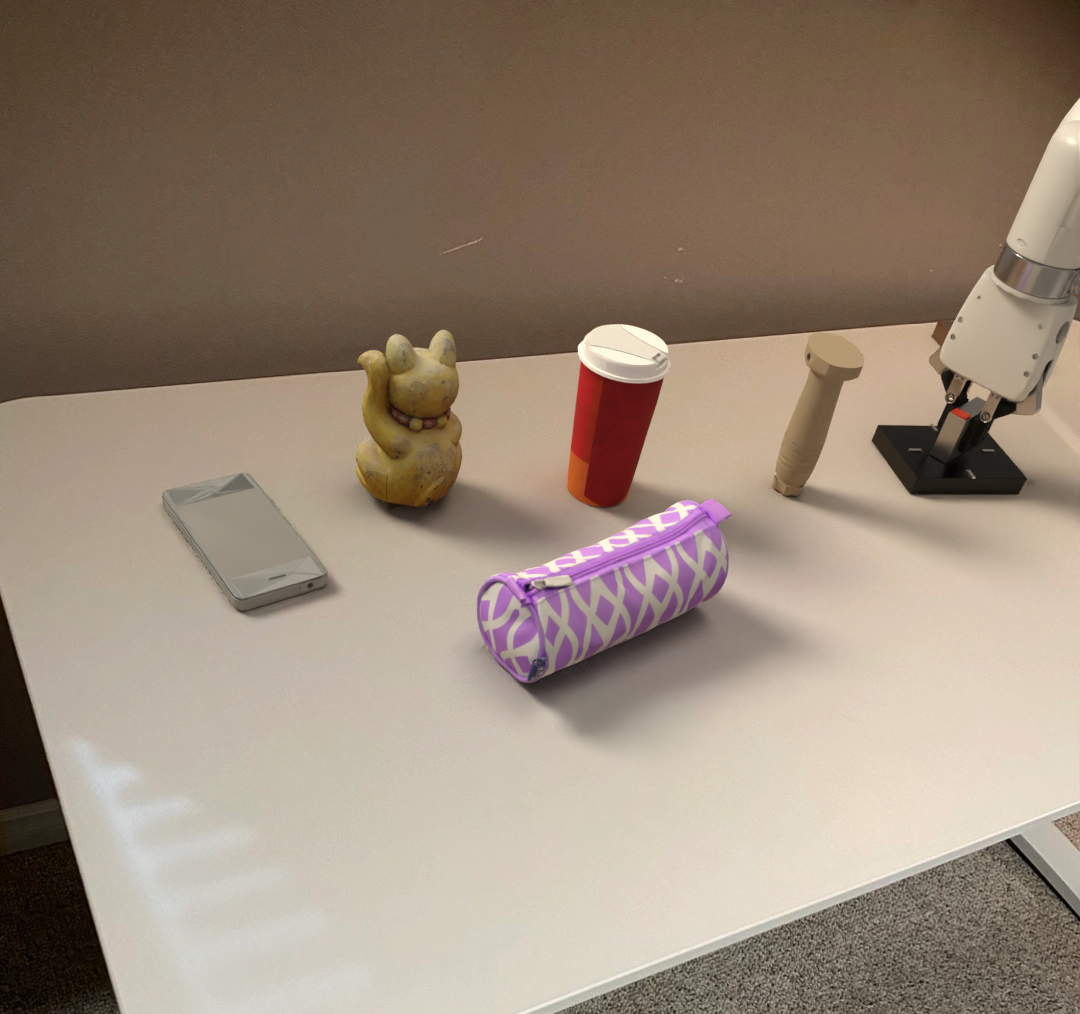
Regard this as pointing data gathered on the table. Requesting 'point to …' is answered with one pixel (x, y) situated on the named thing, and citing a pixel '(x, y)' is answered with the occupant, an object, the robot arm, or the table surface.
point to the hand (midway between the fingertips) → (956, 441)
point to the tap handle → (955, 430)
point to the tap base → (961, 475)
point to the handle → (815, 408)
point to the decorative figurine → (410, 422)
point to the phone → (244, 540)
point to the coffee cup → (613, 410)
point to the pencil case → (604, 591)
